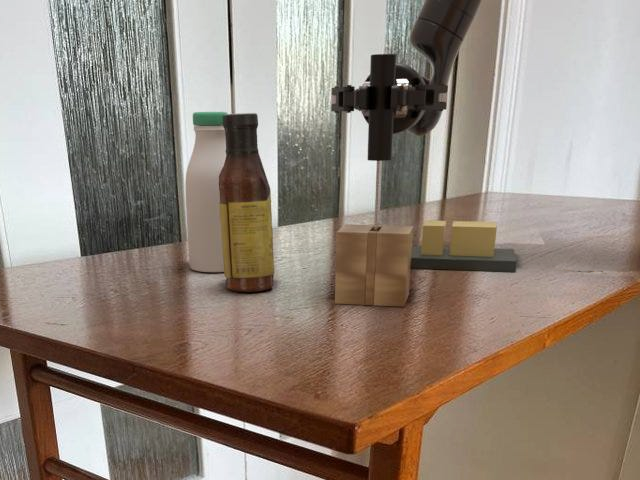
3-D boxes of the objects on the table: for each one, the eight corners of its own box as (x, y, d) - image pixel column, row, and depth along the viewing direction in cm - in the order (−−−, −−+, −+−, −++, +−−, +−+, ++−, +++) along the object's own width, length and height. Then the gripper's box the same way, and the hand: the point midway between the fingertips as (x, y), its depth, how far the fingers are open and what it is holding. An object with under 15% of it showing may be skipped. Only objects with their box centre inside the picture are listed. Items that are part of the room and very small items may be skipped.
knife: (388, 243, 87) (397, 55, 78) (386, 247, 85) (394, 53, 76) (366, 243, 87) (372, 55, 79) (363, 247, 85) (369, 54, 77)
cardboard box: (408, 295, 91) (413, 225, 87) (404, 307, 85) (409, 233, 82) (342, 292, 92) (344, 224, 89) (334, 303, 87) (336, 231, 83)
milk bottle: (242, 273, 103) (237, 111, 95) (186, 273, 104) (176, 112, 95) (245, 263, 110) (241, 111, 101) (193, 263, 110) (184, 111, 102)
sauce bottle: (284, 288, 95) (283, 112, 86) (249, 296, 91) (244, 113, 82) (247, 281, 99) (243, 112, 90) (212, 289, 95) (203, 113, 86)
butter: (512, 259, 111) (517, 220, 109) (515, 272, 103) (520, 230, 100) (403, 255, 115) (405, 217, 112) (397, 268, 106) (399, 227, 104)
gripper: (339, 65, 92) (311, 57, 77) (456, 62, 89) (451, 53, 74) (338, 133, 95) (311, 138, 80) (451, 132, 92) (445, 137, 77)
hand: (378, 97), depth 77 cm, fingers closed on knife, 2 cm apart
